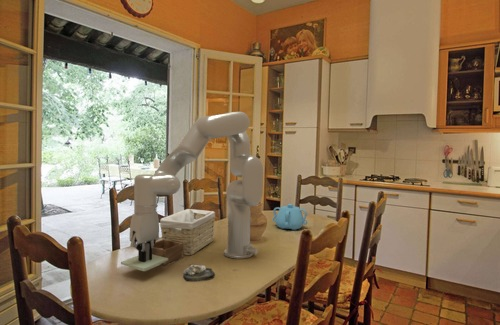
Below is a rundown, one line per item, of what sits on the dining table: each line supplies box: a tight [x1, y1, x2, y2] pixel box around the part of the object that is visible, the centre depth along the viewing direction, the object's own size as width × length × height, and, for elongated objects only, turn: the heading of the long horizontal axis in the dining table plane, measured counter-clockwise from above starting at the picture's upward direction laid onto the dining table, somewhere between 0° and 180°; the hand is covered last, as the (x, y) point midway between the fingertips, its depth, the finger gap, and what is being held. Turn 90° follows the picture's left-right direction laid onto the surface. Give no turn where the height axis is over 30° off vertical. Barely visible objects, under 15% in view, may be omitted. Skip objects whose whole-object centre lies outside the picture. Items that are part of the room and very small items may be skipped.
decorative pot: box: [272, 203, 308, 231], centre depth 182 cm, size 16×16×14 cm
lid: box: [120, 242, 168, 272], centre depth 115 cm, size 11×11×8 cm
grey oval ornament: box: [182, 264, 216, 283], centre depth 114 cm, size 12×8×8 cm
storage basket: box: [159, 208, 216, 256], centre depth 145 cm, size 24×16×15 cm
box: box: [152, 239, 184, 267], centre depth 129 cm, size 11×11×6 cm
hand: (145, 259), depth 115 cm, fingers closed on lid
